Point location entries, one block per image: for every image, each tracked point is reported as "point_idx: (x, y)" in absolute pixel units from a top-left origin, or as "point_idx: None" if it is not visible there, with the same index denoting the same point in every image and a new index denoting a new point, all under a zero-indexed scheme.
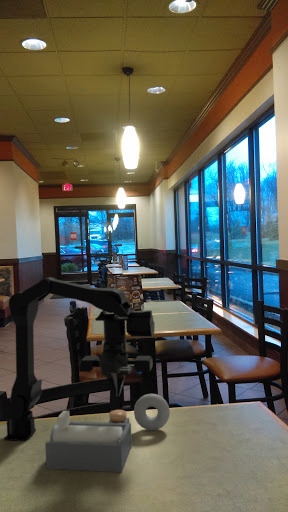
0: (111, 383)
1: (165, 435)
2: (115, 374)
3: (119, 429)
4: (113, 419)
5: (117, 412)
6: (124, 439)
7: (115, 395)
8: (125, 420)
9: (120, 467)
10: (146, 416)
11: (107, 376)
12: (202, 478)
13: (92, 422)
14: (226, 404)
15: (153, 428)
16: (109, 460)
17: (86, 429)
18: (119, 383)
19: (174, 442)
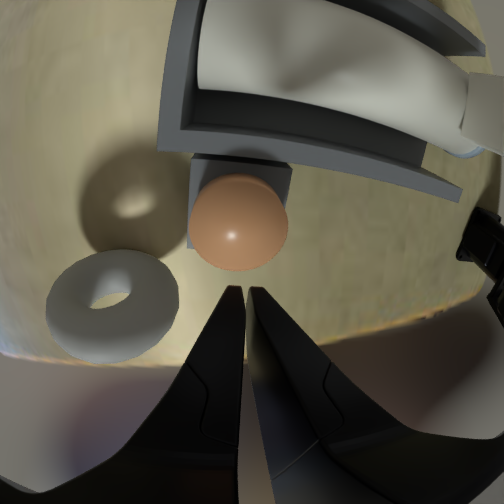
0: (327, 379)
1: (82, 223)
2: (280, 483)
3: (205, 7)
4: (259, 180)
5: (241, 236)
6: None
7: (260, 290)
8: None
9: None
10: (129, 284)
11: (427, 446)
12: (7, 18)
13: (365, 172)
14: (29, 357)
15: (116, 250)
16: None
17: (393, 43)
18: (209, 382)
19: (50, 179)
